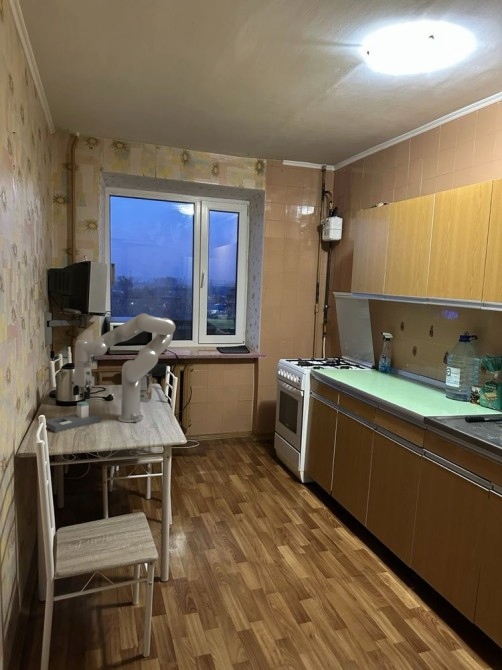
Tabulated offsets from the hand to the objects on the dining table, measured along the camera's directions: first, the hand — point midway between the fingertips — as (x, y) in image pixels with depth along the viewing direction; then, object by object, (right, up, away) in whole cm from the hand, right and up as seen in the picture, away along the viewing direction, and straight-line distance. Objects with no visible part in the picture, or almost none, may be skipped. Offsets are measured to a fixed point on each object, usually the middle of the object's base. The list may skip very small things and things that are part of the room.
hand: (81, 397), depth 227 cm
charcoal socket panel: (-4, -13, -3) cm, 14 cm away
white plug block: (0, -13, +2) cm, 13 cm away
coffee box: (+21, -9, +49) cm, 54 cm away
